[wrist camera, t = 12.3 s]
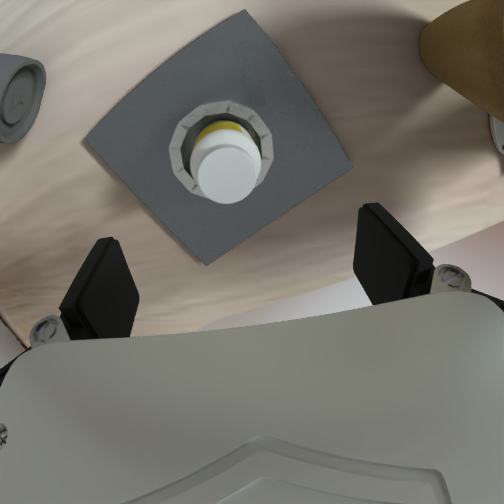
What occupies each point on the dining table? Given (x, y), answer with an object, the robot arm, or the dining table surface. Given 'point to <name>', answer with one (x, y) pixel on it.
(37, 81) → the bluetooth speaker
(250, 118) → the duct collar
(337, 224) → the dining table surface
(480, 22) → the plant pot
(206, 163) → the supplement bottle
